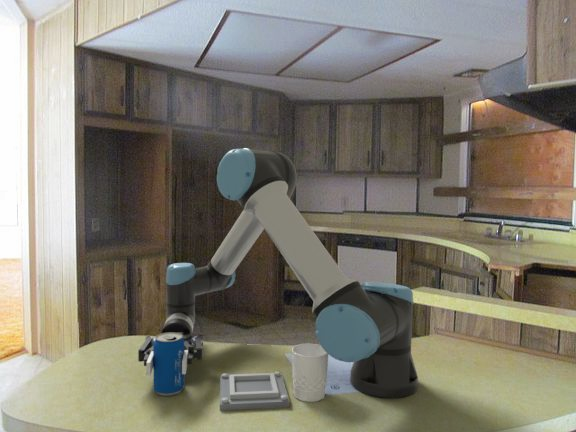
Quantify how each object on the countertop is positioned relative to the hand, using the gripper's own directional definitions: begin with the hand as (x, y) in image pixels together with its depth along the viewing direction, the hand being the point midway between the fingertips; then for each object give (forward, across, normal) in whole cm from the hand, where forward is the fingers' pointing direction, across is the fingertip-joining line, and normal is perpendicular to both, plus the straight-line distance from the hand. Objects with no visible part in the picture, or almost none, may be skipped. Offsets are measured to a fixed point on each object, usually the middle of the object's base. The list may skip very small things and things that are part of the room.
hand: (166, 368), depth 97 cm
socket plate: (-2, -18, -7) cm, 19 cm away
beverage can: (-5, 0, -7) cm, 9 cm away
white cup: (0, -30, -7) cm, 31 cm away
